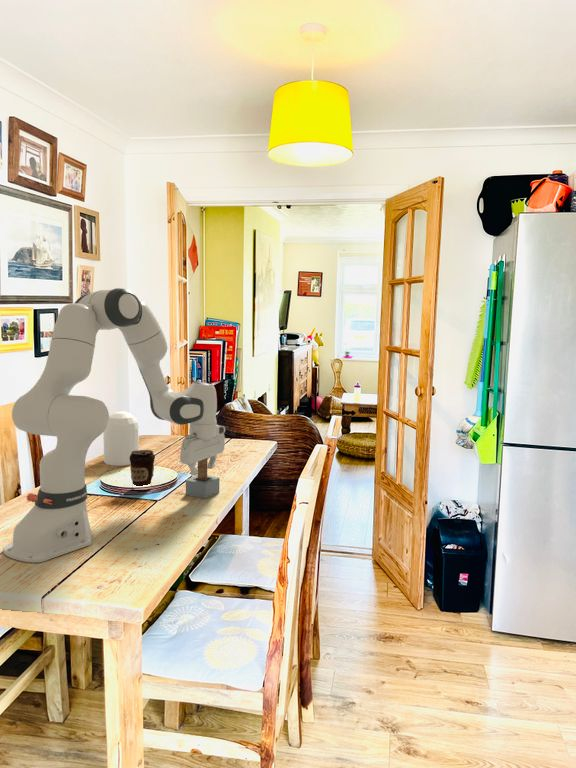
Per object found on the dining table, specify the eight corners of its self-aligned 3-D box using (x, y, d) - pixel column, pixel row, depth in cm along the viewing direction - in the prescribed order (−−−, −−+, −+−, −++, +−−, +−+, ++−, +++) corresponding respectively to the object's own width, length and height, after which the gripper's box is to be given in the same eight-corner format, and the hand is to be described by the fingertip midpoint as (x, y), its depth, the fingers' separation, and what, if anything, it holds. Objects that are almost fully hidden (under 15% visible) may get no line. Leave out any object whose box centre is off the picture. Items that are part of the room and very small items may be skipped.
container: (137, 455, 239) (136, 407, 237) (141, 464, 227) (140, 413, 224) (102, 457, 235) (101, 408, 232) (105, 466, 222) (104, 415, 219)
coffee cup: (148, 494, 193) (147, 455, 191) (125, 491, 194) (124, 454, 193) (159, 486, 201) (158, 449, 199) (136, 483, 203) (136, 447, 201)
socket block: (205, 498, 190) (205, 484, 189) (185, 494, 193) (185, 480, 193) (219, 492, 197) (219, 477, 196) (200, 487, 200) (200, 473, 200)
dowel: (203, 495, 193) (203, 460, 191) (195, 493, 194) (195, 458, 192) (209, 492, 196) (209, 458, 194) (201, 491, 197) (201, 456, 195)
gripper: (191, 437, 181) (191, 480, 183) (228, 426, 199) (227, 466, 201) (175, 435, 184) (175, 477, 186) (212, 424, 202) (212, 463, 204)
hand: (202, 471), depth 193 cm, fingers open, 8 cm apart
